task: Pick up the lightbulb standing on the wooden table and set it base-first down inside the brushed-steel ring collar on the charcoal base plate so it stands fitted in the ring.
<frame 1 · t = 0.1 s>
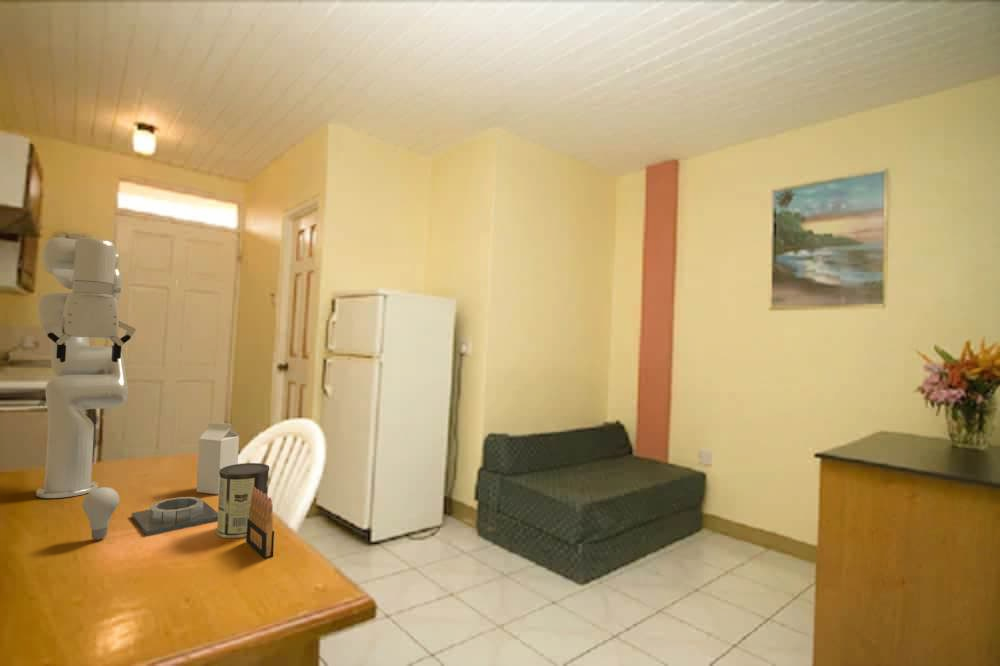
hand: (89, 361, 118), 37 cm above the table, tool pointing down, fingers open, 9 cm apart
lightbulb: (99, 540, 105), on the table
coffee can: (241, 530, 113), on the table
milk carton: (216, 490, 140), on the table
ring collar: (176, 518, 118), on the table
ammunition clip: (259, 550, 104), on the table
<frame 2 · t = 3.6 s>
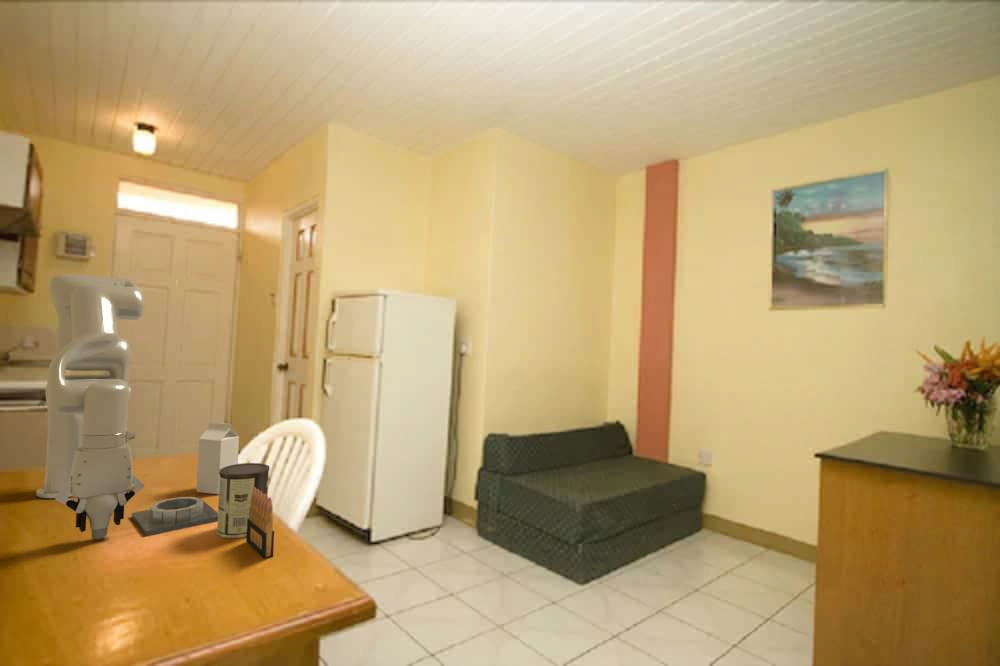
hand: (99, 525, 105), 3 cm above the table, tool pointing down, fingers closed on lightbulb, 5 cm apart
lightbulb: (99, 540, 105), on the table, touching gripper
everything else where it was.
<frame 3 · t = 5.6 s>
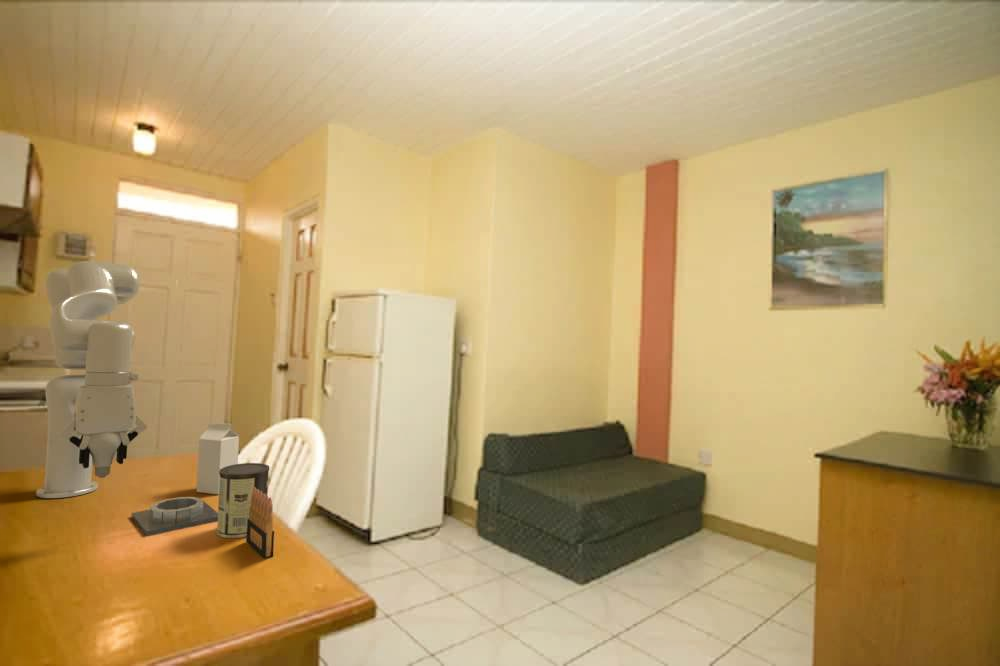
hand: (102, 463, 105), 16 cm above the table, tool pointing down, fingers closed on lightbulb, 5 cm apart
lightbulb: (102, 478, 105), point 13 cm above the table, touching gripper
everything else where it was.
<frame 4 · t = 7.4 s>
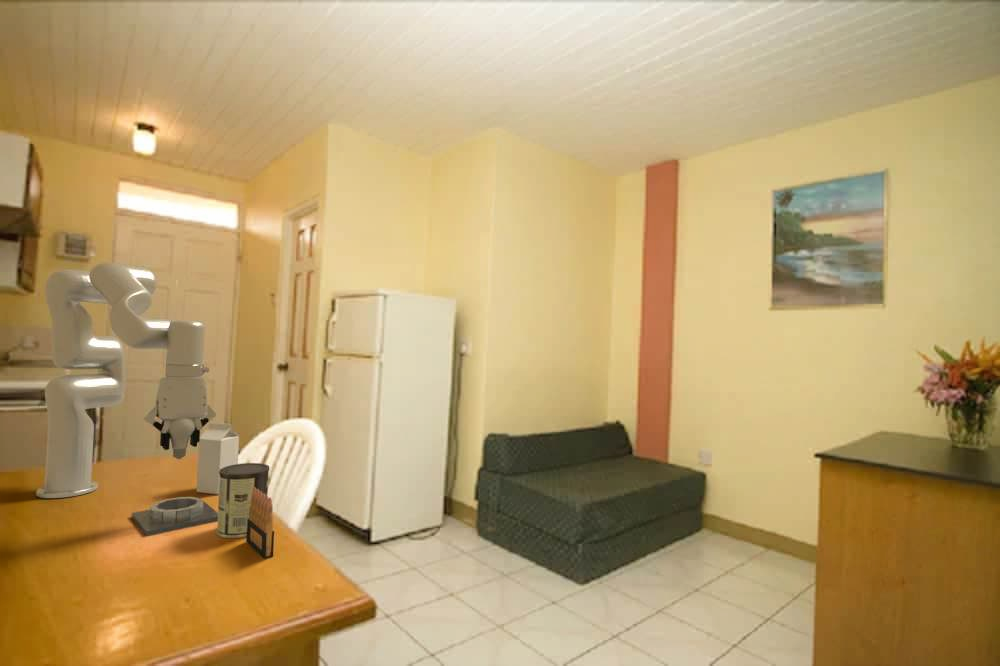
hand: (179, 446, 118), 17 cm above the table, tool pointing down, fingers closed on lightbulb, 5 cm apart
lightbulb: (179, 459, 118), point 14 cm above the table, touching gripper
everything else where it was.
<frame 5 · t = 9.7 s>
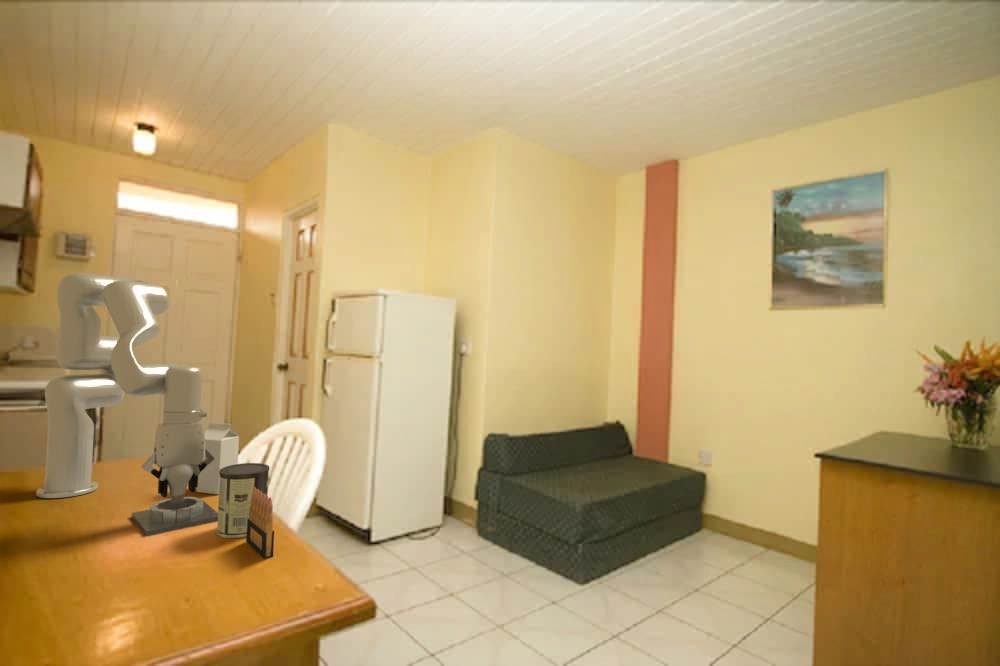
hand: (177, 492, 118), 6 cm above the table, tool pointing down, fingers closed on lightbulb, 5 cm apart
lightbulb: (177, 506, 118), point 3 cm above the table, touching gripper
everything else where it was.
when the fingers open (4 cm above the table, at t = 11.4 s): lightbulb stays where it is, resting on ring collar.
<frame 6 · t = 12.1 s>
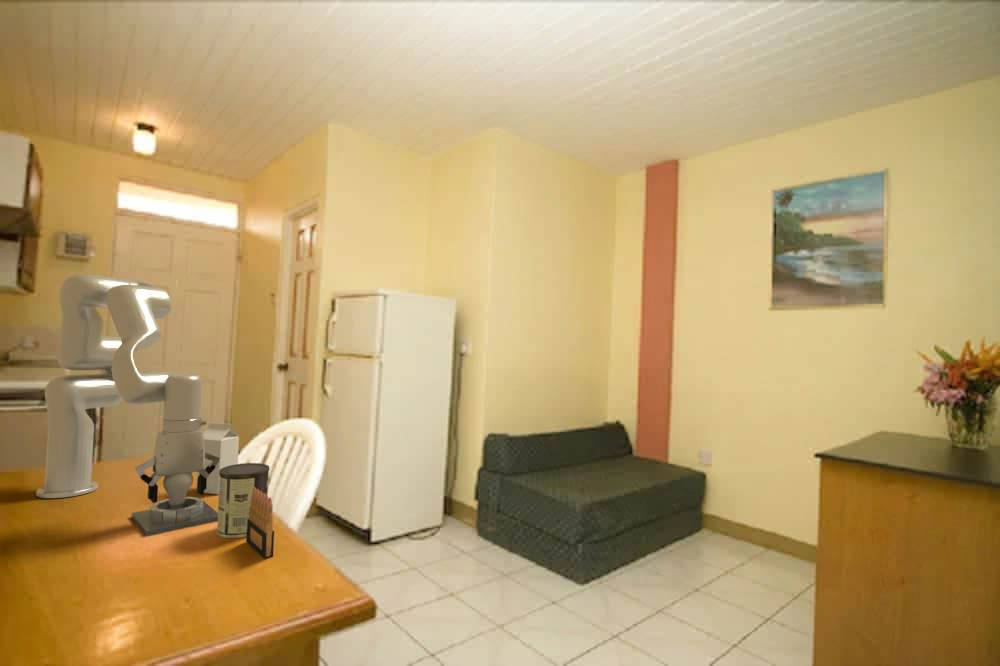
hand: (177, 497, 118), 5 cm above the table, tool pointing down, fingers open, 9 cm apart
lightbulb: (176, 515, 118), point 1 cm above the table, touching ring collar
everything else where it was.
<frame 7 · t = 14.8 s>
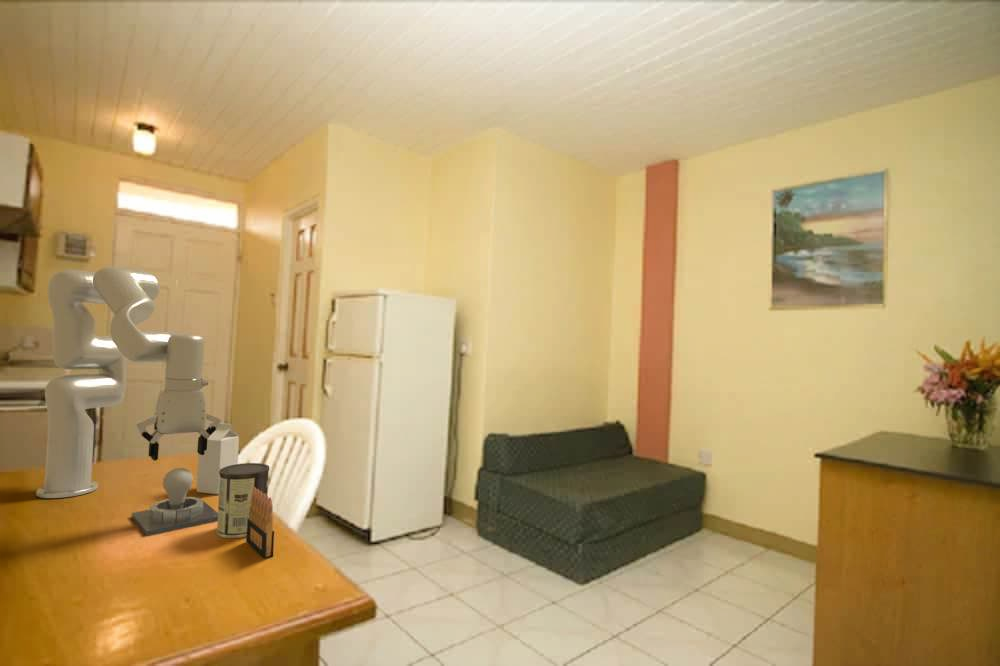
hand: (178, 456, 118), 15 cm above the table, tool pointing down, fingers open, 9 cm apart
nothing on the table moved.
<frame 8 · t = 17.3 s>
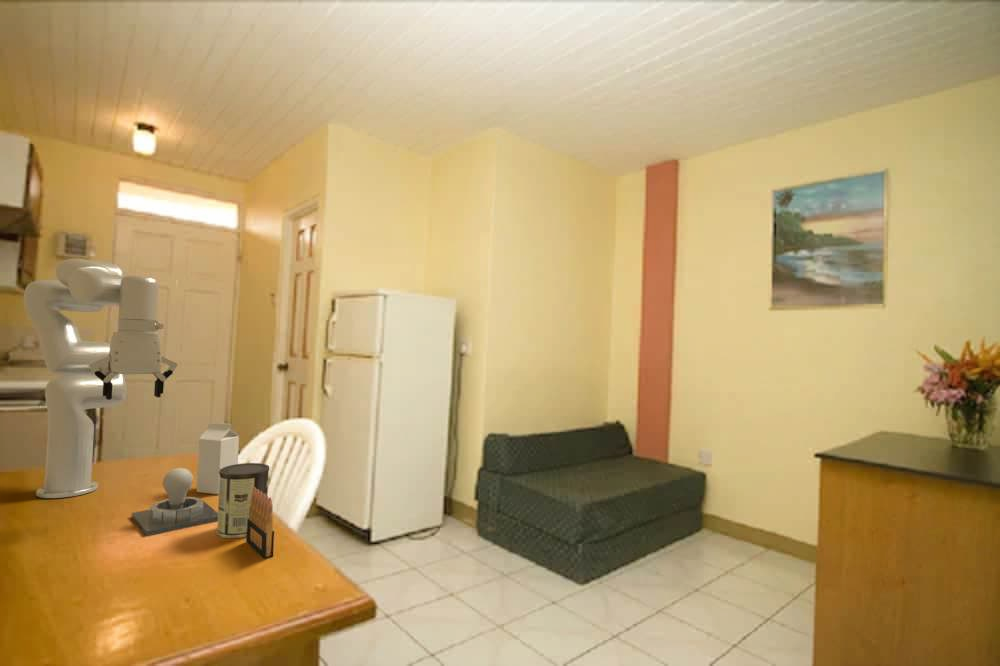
hand: (133, 397, 119), 28 cm above the table, tool pointing down, fingers open, 9 cm apart
nothing on the table moved.
at the end: lightbulb 0.2 cm off-centre on the ring collar, point 0.8 cm above the ring collar's base; lightbulb tilted 0°; the gripper is holding nothing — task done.
